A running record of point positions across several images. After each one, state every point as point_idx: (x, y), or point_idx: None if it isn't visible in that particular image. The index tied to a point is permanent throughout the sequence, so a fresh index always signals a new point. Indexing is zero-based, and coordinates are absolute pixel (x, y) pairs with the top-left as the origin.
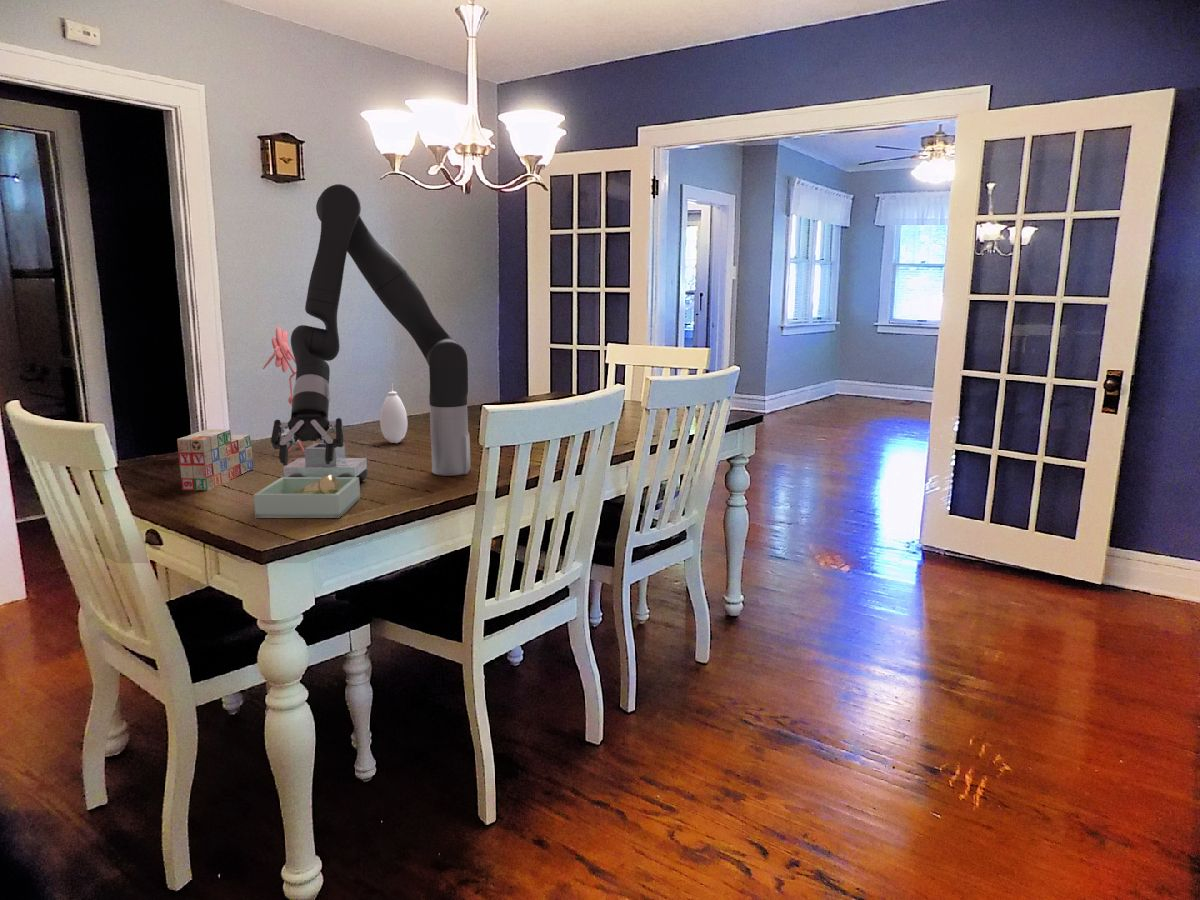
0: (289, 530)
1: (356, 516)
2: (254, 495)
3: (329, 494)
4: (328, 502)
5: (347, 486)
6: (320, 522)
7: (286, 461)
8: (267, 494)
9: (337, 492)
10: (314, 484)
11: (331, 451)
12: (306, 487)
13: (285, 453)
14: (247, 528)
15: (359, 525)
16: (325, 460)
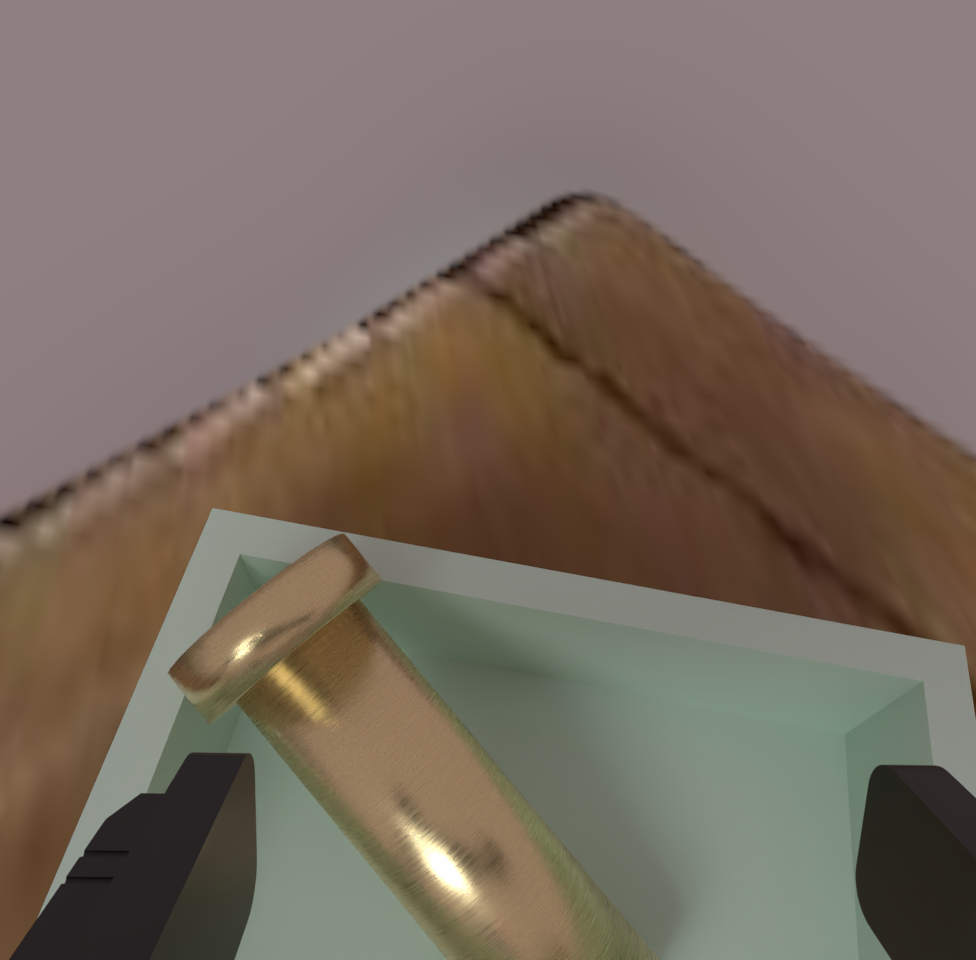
0: (549, 428)
1: (129, 642)
2: (952, 645)
3: (287, 534)
4: None
5: (86, 827)
6: None
7: (885, 873)
8: (841, 634)
9: (214, 589)
10: (432, 711)
11: (83, 886)
12: (533, 833)
13: (960, 835)
14: (815, 508)
15: (140, 442)
16: (251, 773)
